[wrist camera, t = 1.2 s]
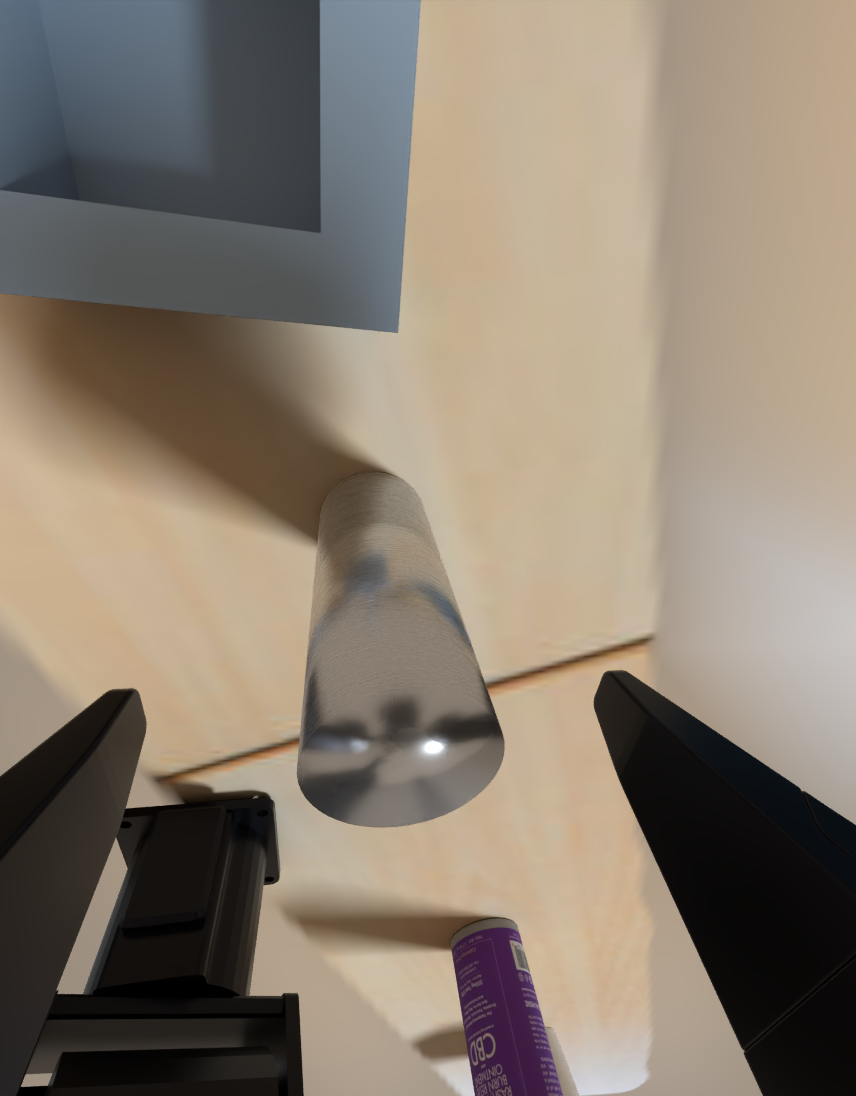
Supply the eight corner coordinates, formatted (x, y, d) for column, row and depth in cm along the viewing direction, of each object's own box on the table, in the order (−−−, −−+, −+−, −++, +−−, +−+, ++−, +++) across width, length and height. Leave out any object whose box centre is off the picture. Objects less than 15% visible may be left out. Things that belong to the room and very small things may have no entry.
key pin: (419, 566, 17) (486, 818, 9) (319, 565, 16) (299, 835, 8) (429, 474, 15) (523, 686, 7) (319, 469, 14) (293, 695, 7)
